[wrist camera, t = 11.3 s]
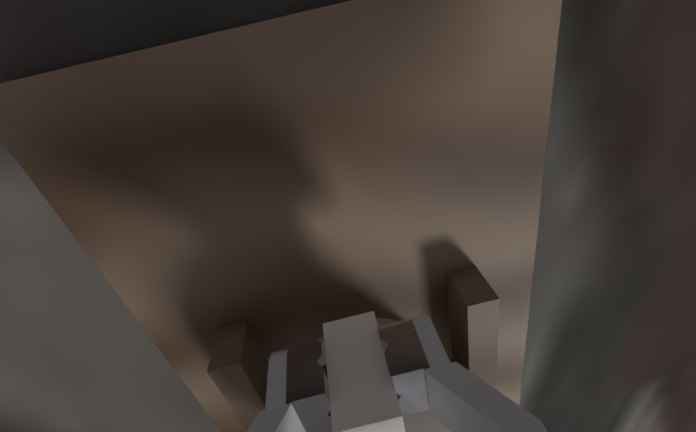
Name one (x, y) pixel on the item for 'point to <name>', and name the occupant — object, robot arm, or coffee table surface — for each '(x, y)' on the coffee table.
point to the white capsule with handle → (365, 380)
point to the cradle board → (307, 181)
